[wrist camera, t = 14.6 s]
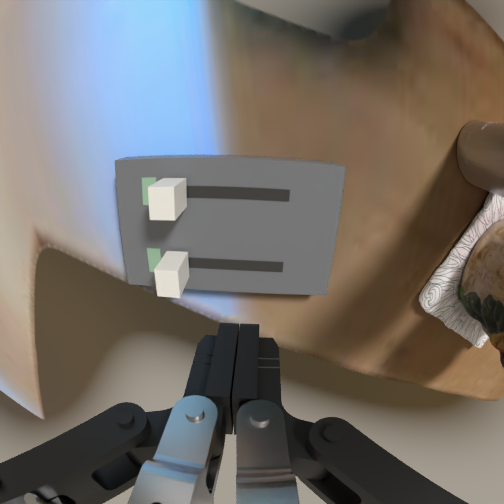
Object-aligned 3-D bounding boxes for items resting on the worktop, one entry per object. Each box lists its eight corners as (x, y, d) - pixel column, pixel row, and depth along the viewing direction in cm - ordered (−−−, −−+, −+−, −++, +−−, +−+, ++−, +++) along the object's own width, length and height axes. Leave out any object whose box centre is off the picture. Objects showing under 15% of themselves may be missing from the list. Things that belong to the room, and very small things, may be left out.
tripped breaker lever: (188, 251, 31) (177, 271, 27) (189, 276, 32) (180, 298, 28) (166, 250, 31) (154, 269, 27) (169, 274, 32) (157, 296, 28)
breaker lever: (186, 177, 27) (174, 186, 23) (186, 206, 29) (175, 220, 25) (163, 178, 27) (147, 187, 23) (164, 206, 29) (149, 219, 25)
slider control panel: (337, 162, 30) (345, 166, 27) (321, 282, 36) (326, 295, 33) (126, 157, 30) (114, 160, 27) (136, 272, 36) (128, 284, 33)
